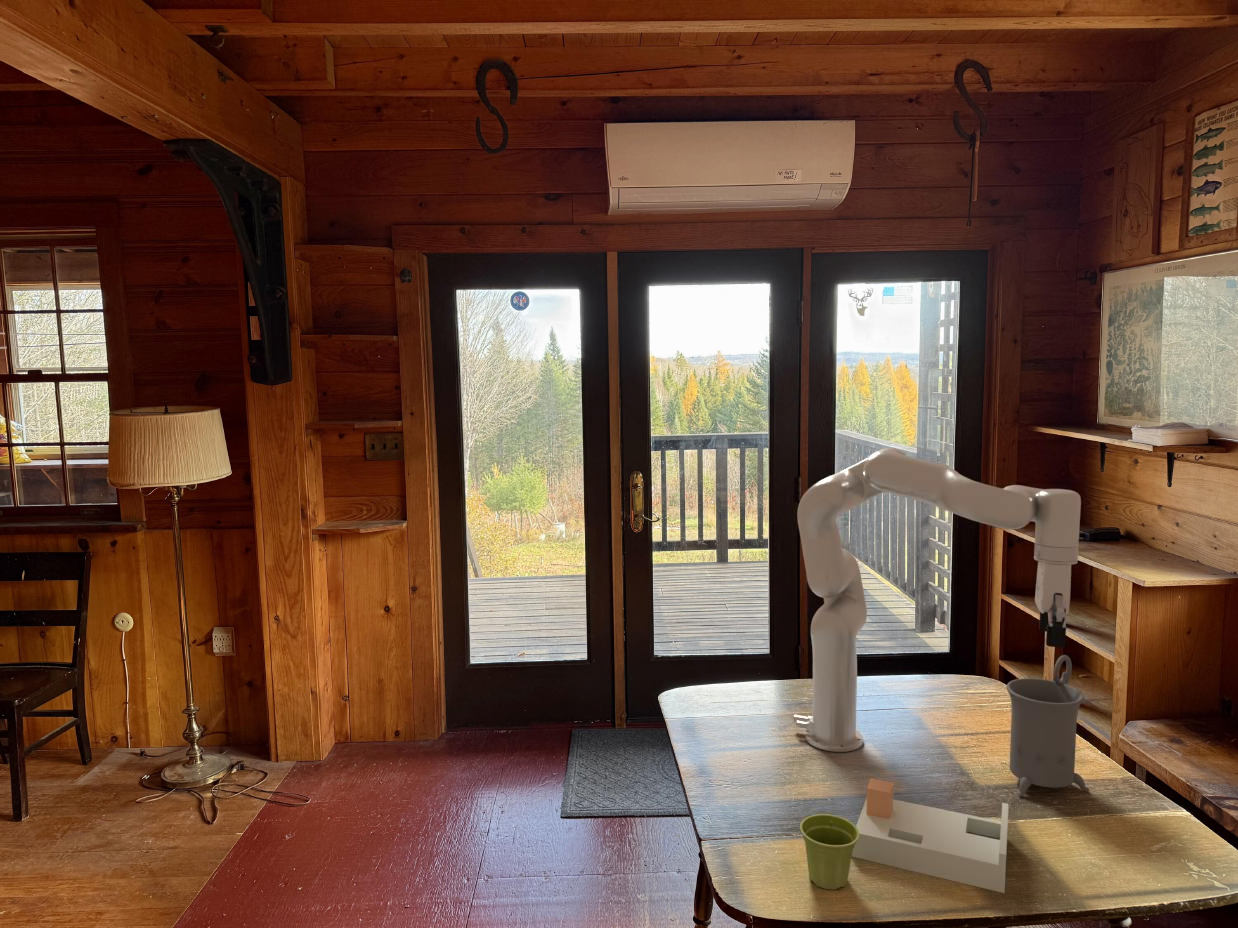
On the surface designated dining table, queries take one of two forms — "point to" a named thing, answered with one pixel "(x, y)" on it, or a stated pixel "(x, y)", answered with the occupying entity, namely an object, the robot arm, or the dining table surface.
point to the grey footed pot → (1044, 730)
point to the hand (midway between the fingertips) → (1051, 638)
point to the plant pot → (829, 849)
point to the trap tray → (937, 843)
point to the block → (880, 798)
